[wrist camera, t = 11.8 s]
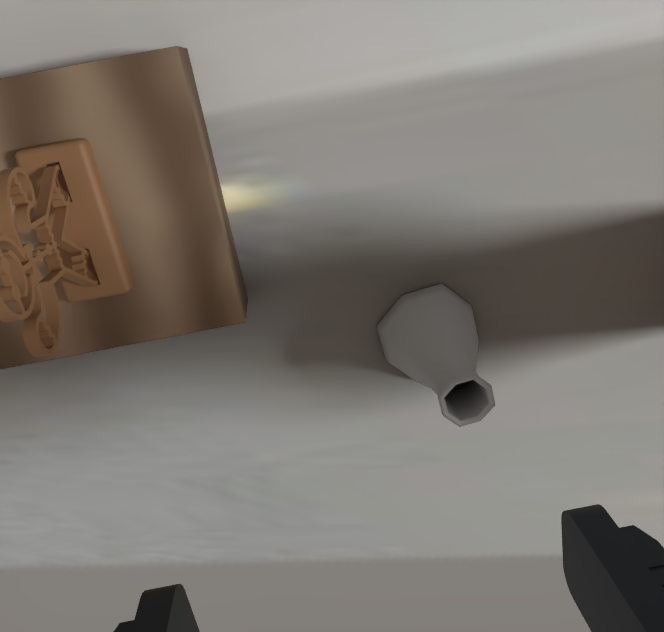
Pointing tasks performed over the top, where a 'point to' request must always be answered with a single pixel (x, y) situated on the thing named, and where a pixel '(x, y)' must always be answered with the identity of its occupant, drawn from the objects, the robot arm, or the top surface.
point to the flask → (438, 350)
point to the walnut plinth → (133, 198)
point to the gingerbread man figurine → (56, 239)
